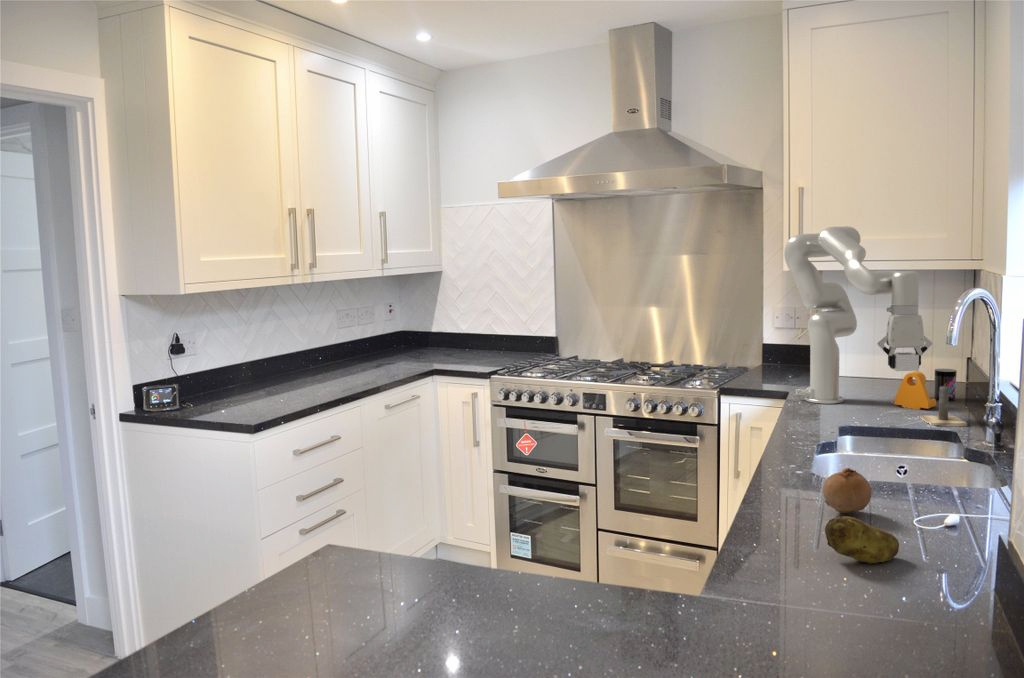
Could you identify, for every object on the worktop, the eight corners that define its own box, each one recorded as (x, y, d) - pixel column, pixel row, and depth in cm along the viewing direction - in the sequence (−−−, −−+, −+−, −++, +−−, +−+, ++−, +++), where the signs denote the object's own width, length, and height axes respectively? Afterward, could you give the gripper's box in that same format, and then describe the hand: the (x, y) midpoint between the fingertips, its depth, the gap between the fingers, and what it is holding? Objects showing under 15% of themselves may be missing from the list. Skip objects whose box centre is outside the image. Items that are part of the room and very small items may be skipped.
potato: (905, 572, 138) (907, 527, 137) (826, 566, 141) (827, 523, 140) (896, 553, 146) (897, 511, 145) (821, 549, 149) (821, 508, 148)
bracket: (936, 407, 264) (937, 371, 263) (928, 411, 259) (929, 374, 258) (903, 403, 272) (904, 368, 271) (894, 406, 267) (895, 371, 266)
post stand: (930, 426, 239) (932, 390, 238) (920, 418, 249) (921, 384, 248) (967, 426, 237) (968, 390, 236) (954, 418, 247) (955, 384, 246)
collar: (896, 371, 247) (896, 355, 246) (890, 368, 253) (890, 352, 252) (918, 370, 245) (918, 354, 245) (912, 367, 252) (912, 352, 251)
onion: (868, 524, 161) (869, 476, 160) (819, 517, 166) (820, 471, 165) (873, 509, 169) (874, 464, 168) (826, 504, 174) (826, 459, 173)
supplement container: (933, 400, 274) (933, 371, 273) (934, 397, 280) (935, 368, 278) (955, 402, 271) (956, 372, 269) (956, 398, 276) (957, 369, 275)
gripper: (878, 312, 245) (878, 370, 247) (939, 311, 242) (938, 369, 244) (872, 310, 253) (871, 366, 254) (931, 309, 249) (930, 365, 251)
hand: (904, 367), depth 249 cm, fingers closed on collar, 6 cm apart
